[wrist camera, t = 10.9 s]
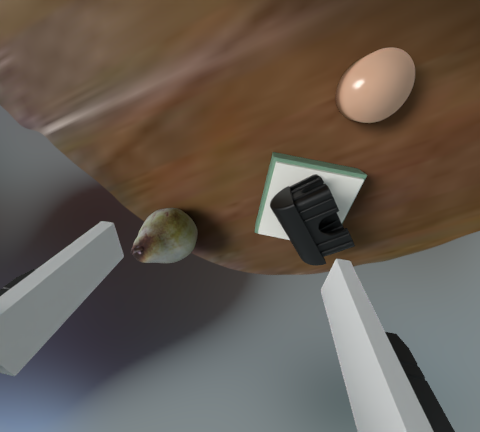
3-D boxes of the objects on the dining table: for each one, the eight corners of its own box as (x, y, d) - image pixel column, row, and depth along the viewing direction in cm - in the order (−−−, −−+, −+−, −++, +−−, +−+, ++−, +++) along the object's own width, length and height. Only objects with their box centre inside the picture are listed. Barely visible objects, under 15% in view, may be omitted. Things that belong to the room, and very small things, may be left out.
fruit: (167, 189, 35) (125, 225, 25) (212, 216, 37) (191, 260, 26) (150, 228, 40) (109, 271, 30) (190, 250, 42) (165, 298, 31)
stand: (272, 152, 30) (273, 158, 26) (357, 168, 29) (369, 177, 26) (255, 222, 36) (254, 235, 33) (324, 237, 36) (330, 251, 32)
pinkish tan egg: (349, 50, 23) (362, 41, 20) (409, 60, 23) (430, 53, 20) (326, 115, 27) (334, 117, 24) (377, 125, 26) (392, 127, 23)
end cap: (268, 193, 29) (269, 215, 23) (315, 169, 26) (329, 187, 20) (297, 241, 32) (304, 272, 26) (341, 224, 30) (359, 254, 24)
